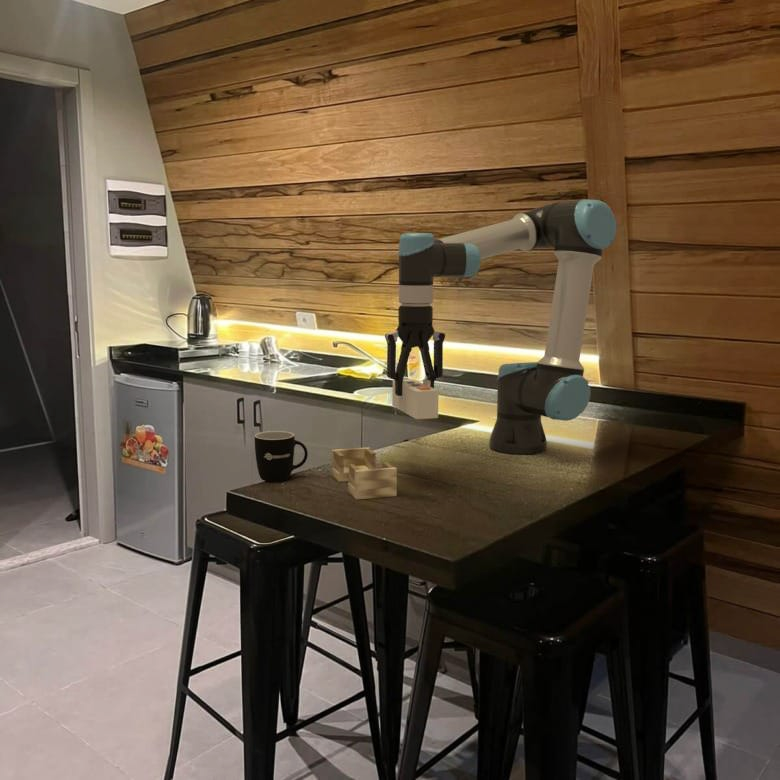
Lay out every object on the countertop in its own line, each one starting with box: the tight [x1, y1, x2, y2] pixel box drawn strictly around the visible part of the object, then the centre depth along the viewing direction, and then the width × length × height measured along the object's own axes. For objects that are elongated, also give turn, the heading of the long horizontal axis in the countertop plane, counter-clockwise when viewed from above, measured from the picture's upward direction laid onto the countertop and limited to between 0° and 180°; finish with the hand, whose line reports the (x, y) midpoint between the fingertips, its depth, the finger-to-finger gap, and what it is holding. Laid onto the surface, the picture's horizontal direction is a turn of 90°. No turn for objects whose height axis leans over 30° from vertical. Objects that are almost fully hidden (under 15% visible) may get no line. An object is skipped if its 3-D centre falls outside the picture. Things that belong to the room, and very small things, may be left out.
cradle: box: [331, 446, 398, 501], centre depth 176 cm, size 9×20×6 cm, turn 19°
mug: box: [254, 430, 309, 483], centre depth 181 cm, size 12×9×10 cm
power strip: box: [391, 378, 440, 420], centre depth 178 cm, size 5×16×6 cm, turn 18°
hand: (414, 409), depth 178 cm, fingers closed on power strip, 5 cm apart
